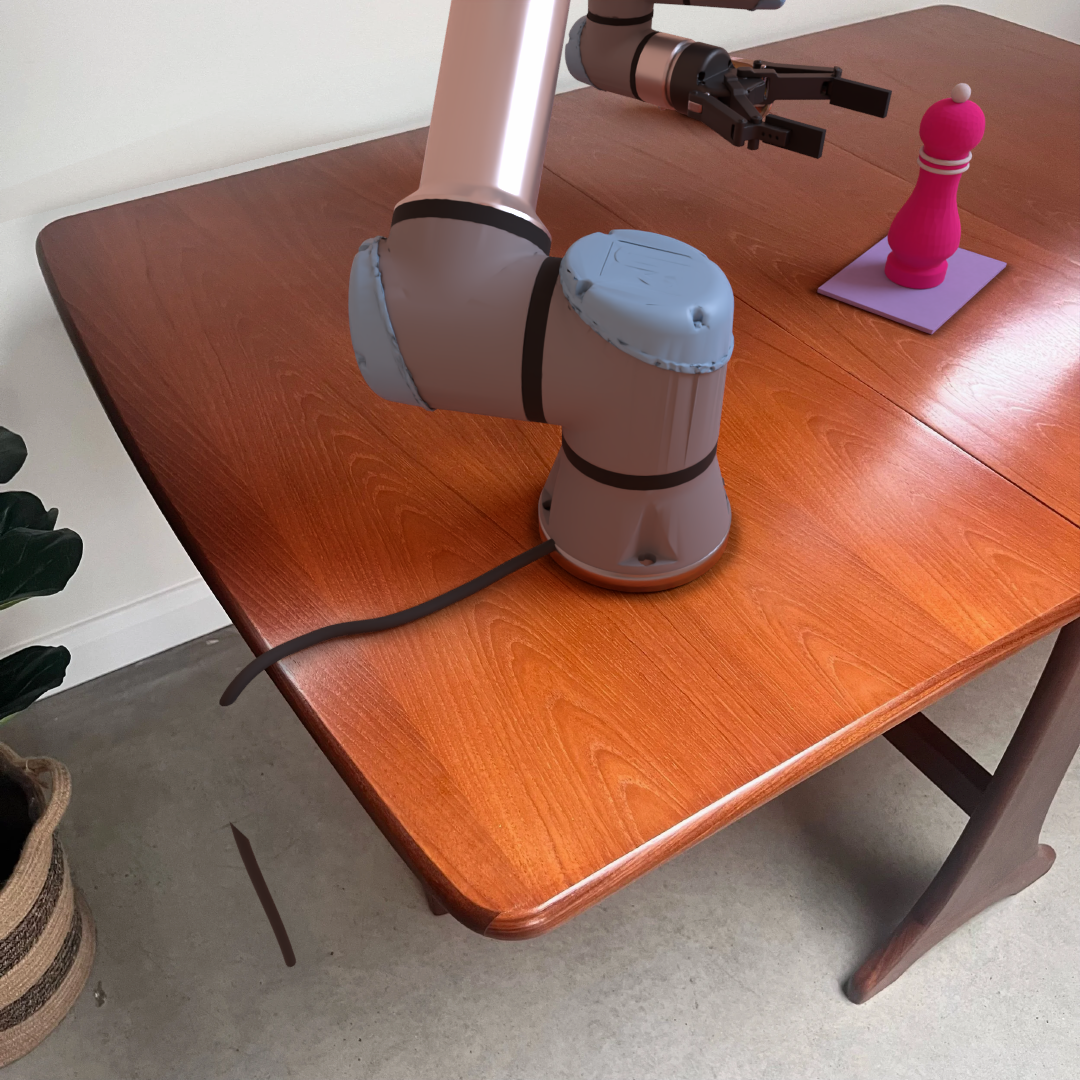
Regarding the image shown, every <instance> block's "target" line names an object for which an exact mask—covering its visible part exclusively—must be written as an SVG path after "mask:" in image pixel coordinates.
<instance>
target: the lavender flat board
mask: <svg viewBox="0 0 1080 1080" xmlns="http://www.w3.org/2000/svg"><path fill="white" fill-rule="evenodd" d="M890 252H892V249H891V248H890V246H889V244H888V234H887V235H886V236H884V238H882V239H881V240H879V241H878V242H876V243H875V244H874V245H873V246H871V247H870V248H869V249H867V250H866V251H865V252H864V253H862V254H861V255H860V256H859V257H857V258H856V259H854V260H853V261H852V262H850V263H849V264H848V265H846V266H844V268H842V269H841V270H840V271H839V272H837V273H836V274H835V275H834V276H832V277H830V279H828V280H827V281H826V282H824V283H823V284H822V285H820V286H819V287H818V288H817V291H816V292H817V293H818V294H821V295H823V296H826V297H829V298H832V299H834V300H837V301H839V302H842V303H845V304H847V305H850V306H853V307H856V308H857V309H861V310H864V311H866V312H870V313H872V314H875V315H877V316H881V317H883V318H886V319H889V320H891V321H894V322H896V323H898V324H901V325H904V326H907V327H909V328H912V329H914V330H917V331H920V332H923V333H926V334H928V335H933V334H935V333H936V332H937V330H938V329H940V328H941V327H942V326H944V324H945V323H946V322H947V321H948V320H949V319H950V318H951V317H953V316H954V315H955V314H956V313H957V312H958V311H959V310H961V309H962V307H964V306H965V305H966V304H967V303H968V302H969V301H970V300H971V299H972V298H973V297H974V296H976V294H978V293H979V292H980V291H981V290H982V289H984V287H985V286H987V285H988V283H990V282H991V281H992V280H993V279H994V278H995V277H997V276H998V275H999V273H1001V272H1002V271H1003V270H1004V269H1005V268H1006V267H1007V264H1008V263H1007V262H1004V261H1001V260H999V259H995V258H992V257H990V256H986V255H984V254H980V253H976V252H974V251H970V250H968V249H965V248H962V247H958V249H957V250H956V252H955V253H954V254H953V255H952V256H951V257H949V258H948V259H946V260H947V263H948V268H947V271H946V275H945V279H944V281H943V282H942V283H941V284H940V285H938V286H936V287H933V288H928V289H913V288H907V287H903V286H900V285H898V284H896V283H894V282H892V281H891V280H890V279H888V278H887V276H886V274H885V271H884V270H885V265H886V261H887V256H888V254H889V253H890Z"/></svg>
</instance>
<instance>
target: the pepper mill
mask: <svg viewBox="0 0 1080 1080" xmlns="http://www.w3.org/2000/svg"><path fill="white" fill-rule="evenodd" d="M971 93H972V89H971V86H969V84H967V83H965V82H959V83H957V84H956V85H954V86H953V88H952V89H951V91H950V97H946V98H942V99H940V100H937V101H936V102H934V103H933V104H931V105H930V106H929V107H928V108H927V109H926V110H925V112H924V113H923V115H922V117H921V119H920V123H919V130H918V134H919V138H920V140H921V142H922V144H923V145H921V146H920V148H919V149H918V157H917V158H916V163H917V165H918V166H919V171H918V177H917V180H916V183H915V187H914V188H913V190H912V192H911V194H910V196H909V197H908V198H907V200H906V201H905V202H904V204H903V205H902V206H901V208H899V210H898V211H897V212H896V214H895V216H894V218H893V219H892V221H891V222H890V226H889V229H888V232H887V235H888V244H889V246H890V248H891V249H892V252H890V253H889V254H888V256H887V261H886V265H885V270H884V271H885V274H886V276H887V278H888V279H890V280H891V281H892V282H894V283H896V284H898V285H900V286H903V287H907V288H913V289H928V288H933V287H936V286H938V285H940V284H941V283H942V282H943V281H944V279H945V275H946V271H947V268H948V263H947V260H946V259H948V258H949V257H951V256H952V255H953V254H954V253H955V252H956V250H957V249H958V248H960V242H961V235H962V227H961V226H962V225H961V219H960V215H959V210H958V203H957V198H958V197H957V195H958V189H959V184H960V181H961V178H962V175H963V173H965V172H967V171H968V170H969V168H970V161H971V160H972V158H973V154H972V150H973V149H975V148H976V147H977V146H978V145H979V144H980V143H981V141H982V140H983V137H984V134H985V129H986V117H985V113H984V112H983V110H982V109H981V107H980V106H979V105H978V104H977V103H976V102H974V101H972V100H970V97H971Z"/></svg>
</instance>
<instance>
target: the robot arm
mask: <svg viewBox="0 0 1080 1080" xmlns="http://www.w3.org/2000/svg"><path fill="white" fill-rule="evenodd" d="M785 3H786V0H587V13H586V14H585V15H582V16H580V18H578V19H577V20H576V21H575V22H574V23H573V24H572V26H571V27H570V30H569V32H568V38H569V39H568V42H567V43H565V37H566V31H567V24H568V19H569V12H570V6H571V0H450V4H449V5H450V6H449V11H448V18H447V23H446V30H445V35H444V40H443V47H442V53H441V58H440V63H439V69H438V70H439V71H438V75H437V80H436V81H437V82H436V86H435V87H436V88H435V95H434V100H433V104H432V111H431V117H430V123H429V129H428V135H427V140H426V144H425V145H426V146H425V151H424V158H423V165H422V168H421V169H422V170H421V173H420V174H421V177H420V181H419V185H418V189H417V190H416V191H413V192H412V193H411V194H409V195H407V196H405V197H404V198H402V199H401V200H400V201H398V202H397V203H396V204H395V206H394V208H393V211H392V216H391V223H390V229H389V234H388V237H386V236H383V235H376V236H375V237H370V238H367V239H365V240H364V241H362V243H361V244H360V246H358V252H357V253H355V255H354V257H353V260H352V264H351V268H350V274H349V281H348V297H347V298H348V299H347V301H348V302H347V304H348V305H347V306H348V323H349V324H348V326H349V334H350V340H351V344H352V349H353V352H354V357H355V361H356V364H357V366H358V370H359V371H360V374H361V376H362V377H363V380H364V381H365V383H366V384H367V386H368V387H369V388H370V390H371V391H372V392H373V393H374V394H376V395H377V396H378V397H379V398H382V399H383V400H386V401H389V402H392V403H398V404H403V405H408V406H414V407H419V408H421V409H423V410H425V411H428V412H436V411H437V410H442V411H443V410H444V411H452V412H457V413H459V412H460V413H465V414H473V415H480V416H486V417H495V418H502V419H507V420H514V421H522V422H528V423H529V422H530V423H531V422H532V423H539V424H546V425H547V424H548V425H552V426H553V425H554V426H561V445H560V448H559V450H558V453H557V455H556V457H555V460H554V462H553V464H552V466H551V468H550V471H549V474H548V476H547V478H546V481H545V484H544V485H543V488H542V490H541V492H540V495H539V500H538V505H537V506H538V507H537V508H538V510H537V512H538V514H537V515H538V516H537V517H538V533H539V537H540V540H541V543H539V544H538V545H536V546H533V547H532V548H530V549H527V550H526V551H523V552H522V553H520V554H517V555H516V556H514V557H512V558H510V559H508V560H507V561H504V562H502V563H501V564H499V565H497V566H495V567H493V568H491V569H489V570H487V571H486V572H484V573H482V574H481V575H478V576H477V577H475V578H472V579H471V580H469V581H467V582H465V583H463V584H461V585H459V586H457V587H455V588H453V589H451V590H447V591H446V592H444V593H442V594H440V595H438V596H436V597H435V596H434V597H433V598H432V599H429V600H427V601H424V602H422V603H420V604H417V605H415V606H412V607H409V608H407V609H404V610H400V611H397V612H394V613H391V614H387V615H384V616H379V617H375V618H374V617H373V618H367V619H359V620H351V621H344V622H338V623H333V624H329V625H326V626H323V627H320V628H316V629H314V630H312V631H310V632H309V631H308V632H307V633H305V634H302V635H299V636H297V637H295V638H292V639H289V640H287V641H285V642H282V643H280V644H278V645H276V646H274V647H272V648H270V649H268V650H267V651H264V652H263V653H261V654H260V655H259V656H257V657H255V658H254V659H253V660H252V661H251V662H249V663H248V664H247V665H246V666H245V667H244V668H243V669H241V671H239V673H238V674H236V676H235V677H234V678H233V679H232V680H231V682H230V683H229V684H228V686H227V687H226V689H225V690H224V691H223V693H222V695H221V696H220V698H219V702H218V705H219V706H221V707H228V706H231V705H233V704H234V703H236V701H237V700H238V697H239V696H240V695H241V694H242V692H243V691H244V690H245V689H246V688H247V686H249V685H250V683H251V682H252V681H253V680H254V679H255V678H256V677H257V676H258V675H260V674H261V673H262V672H263V671H265V670H266V669H267V668H269V667H270V666H272V665H273V664H276V663H277V662H279V661H281V660H283V659H286V658H287V657H289V656H291V655H294V654H296V653H299V652H301V651H303V650H306V649H308V648H311V647H313V646H316V645H318V644H320V643H324V642H327V641H330V640H332V639H337V638H341V637H346V636H347V637H348V636H353V635H354V636H355V635H362V634H369V633H370V634H371V633H376V632H381V631H386V630H390V629H393V628H397V627H400V626H403V625H406V624H409V623H412V622H414V621H417V620H420V619H423V618H425V617H427V616H430V615H432V614H435V613H436V612H439V611H441V610H443V609H445V608H447V607H449V606H451V605H453V604H456V603H457V602H460V601H462V600H464V599H466V598H468V597H470V596H472V595H474V594H476V593H479V592H480V591H482V590H484V589H486V588H487V587H489V586H491V585H493V584H494V583H496V582H498V581H500V580H502V579H504V578H505V577H507V576H509V575H511V574H513V573H514V572H517V571H519V570H521V569H522V568H524V567H526V566H528V565H530V564H532V563H535V562H537V561H538V560H540V559H542V558H544V557H546V556H548V555H549V556H550V558H551V559H552V561H554V562H555V563H556V564H557V565H558V566H559V567H561V568H562V569H563V570H564V571H566V572H568V574H571V575H572V576H573V577H576V578H577V579H579V580H581V581H584V582H585V583H588V584H591V585H594V586H597V587H599V588H603V589H608V590H612V591H616V592H617V591H618V592H626V593H652V592H659V591H666V590H670V589H674V588H677V587H679V586H683V585H686V584H688V583H690V582H692V581H694V580H696V579H698V578H700V577H702V576H703V575H704V574H706V573H708V572H709V570H711V569H712V568H713V567H714V566H715V565H716V564H717V563H718V562H719V561H720V559H721V558H722V556H723V554H724V553H725V551H726V549H727V545H728V543H729V537H730V531H731V525H732V506H731V503H730V500H729V497H728V494H727V492H726V488H725V487H726V483H725V478H724V477H723V476H722V472H721V468H720V464H719V459H718V455H717V450H718V443H719V436H720V428H721V419H722V413H723V412H722V411H723V405H724V396H725V386H726V378H727V371H728V363H729V361H730V360H731V357H732V355H733V351H734V349H735V348H734V346H735V336H734V334H733V327H734V326H733V324H734V312H735V298H734V292H733V288H732V285H731V284H730V281H729V279H728V277H727V276H726V274H725V272H724V271H723V270H722V269H721V267H720V266H719V265H718V264H717V263H715V262H714V261H712V260H711V259H710V258H708V256H707V255H706V254H705V253H703V251H700V250H699V249H698V248H697V247H695V246H692V245H690V244H688V243H686V242H684V241H682V240H679V239H677V238H674V237H670V236H667V235H664V234H661V233H657V232H652V231H644V230H640V229H626V228H625V229H624V228H623V229H622V228H621V229H611V230H610V231H609V232H608V234H607V233H603V232H600V231H596V232H593V233H590V234H587V235H584V236H582V237H581V238H578V239H577V240H576V241H574V242H573V243H572V244H571V245H570V246H569V247H568V249H567V250H566V252H565V254H564V255H563V257H559V256H550V253H551V248H552V241H553V240H552V239H553V238H552V234H551V233H550V231H549V229H548V228H547V227H546V226H545V224H544V222H543V221H542V220H541V218H540V217H539V216H538V215H537V206H538V199H539V192H540V187H541V181H542V175H543V169H544V162H545V157H546V150H547V145H548V139H549V133H550V127H551V120H552V116H553V115H552V114H553V109H554V103H555V97H556V92H557V83H558V78H559V73H560V67H561V60H562V55H563V49H564V61H565V65H566V68H567V71H568V72H569V74H570V75H571V77H572V78H573V79H575V80H576V81H578V82H580V83H582V84H585V85H588V86H590V87H593V88H594V89H596V90H598V91H599V92H600V91H601V92H609V93H612V94H616V95H620V96H623V97H626V98H630V99H634V100H638V101H641V102H643V103H647V104H650V105H654V106H657V107H658V110H659V111H666V110H671V111H676V112H677V113H679V114H681V115H686V116H687V117H688V118H690V119H693V120H696V121H699V122H701V123H703V124H704V125H705V126H706V127H708V128H709V129H711V130H712V131H713V132H715V133H716V134H717V135H719V136H720V137H722V138H723V139H724V140H726V141H727V143H729V144H731V145H732V146H734V147H737V148H741V147H744V146H745V144H746V143H745V142H746V141H747V146H746V150H749V151H757V150H759V147H760V141H761V143H764V144H766V145H770V146H774V147H777V148H779V149H784V150H787V151H789V152H794V153H797V154H799V155H802V156H807V157H809V158H813V159H816V160H819V159H820V158H822V157H823V153H824V147H825V140H826V135H827V129H826V128H822V127H819V126H816V125H812V124H808V123H804V122H801V121H797V120H794V119H791V118H787V117H784V116H780V115H777V114H773V113H768V114H767V115H766V116H765V117H764V118H763V117H762V116H761V114H760V113H759V112H758V111H757V109H756V108H755V107H754V106H753V105H770V104H772V103H773V102H775V101H829V103H828V104H829V105H832V106H835V107H838V108H843V109H847V110H850V111H853V112H858V113H860V114H861V113H862V114H864V115H869V116H873V117H876V118H878V119H879V118H880V119H885V118H887V116H888V112H889V109H890V103H891V98H892V93H893V90H892V89H889V88H888V89H887V88H883V87H880V86H877V85H872V84H868V83H864V82H860V81H857V80H852V79H848V78H844V77H842V74H843V69H842V68H841V67H840V66H836V65H834V66H833V67H830V66H819V65H818V66H817V65H805V64H795V63H794V64H793V63H780V62H779V63H778V62H771V61H766V60H763V59H755V60H754V61H753V68H751V67H738V68H735V67H734V65H733V63H732V61H731V58H730V56H731V55H730V53H729V51H727V49H725V48H724V47H722V46H719V45H713V44H710V43H706V42H702V41H696V40H694V39H692V38H689V37H684V36H680V35H676V34H672V33H668V32H663V31H659V30H656V29H653V27H652V25H653V18H654V12H655V9H654V8H655V4H657V5H673V6H689V7H691V6H692V7H704V8H718V9H732V10H746V11H748V12H755V11H758V10H759V11H763V10H765V11H776V10H779V9H781V8H782V7H783V6H784V4H785ZM564 43H565V46H564ZM765 88H767V91H766V95H765V96H764V94H765ZM773 104H774V103H773ZM763 119H764V121H763ZM229 825H230V828H231V832H232V835H233V838H234V842H235V844H236V847H237V851H238V853H239V855H240V858H241V860H242V863H243V865H244V868H245V870H246V872H247V875H248V876H249V879H250V882H251V884H252V886H253V889H254V890H255V893H256V896H257V898H258V899H259V902H260V904H261V907H262V908H263V910H264V913H265V915H266V918H267V919H268V922H269V925H270V926H271V929H272V931H273V934H274V936H275V939H276V941H277V944H278V946H279V949H280V952H281V955H282V957H283V961H284V963H285V966H286V967H287V968H292V967H295V966H296V964H297V958H296V955H295V953H294V948H293V946H292V944H291V943H292V942H291V941H290V937H289V935H288V932H287V930H286V927H285V925H284V923H283V920H282V918H281V915H280V913H279V910H278V908H277V906H276V903H275V901H274V899H273V896H272V894H271V892H270V890H269V888H268V884H267V882H266V881H265V878H264V875H263V873H262V871H261V868H260V866H259V863H258V861H257V858H256V856H255V853H254V850H253V847H252V844H251V842H250V839H249V838H248V837H247V836H246V835H244V833H242V831H241V830H239V829H238V828H237V827H236V826H235V825H234V824H233V823H232V822H231V821H229Z"/></svg>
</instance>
